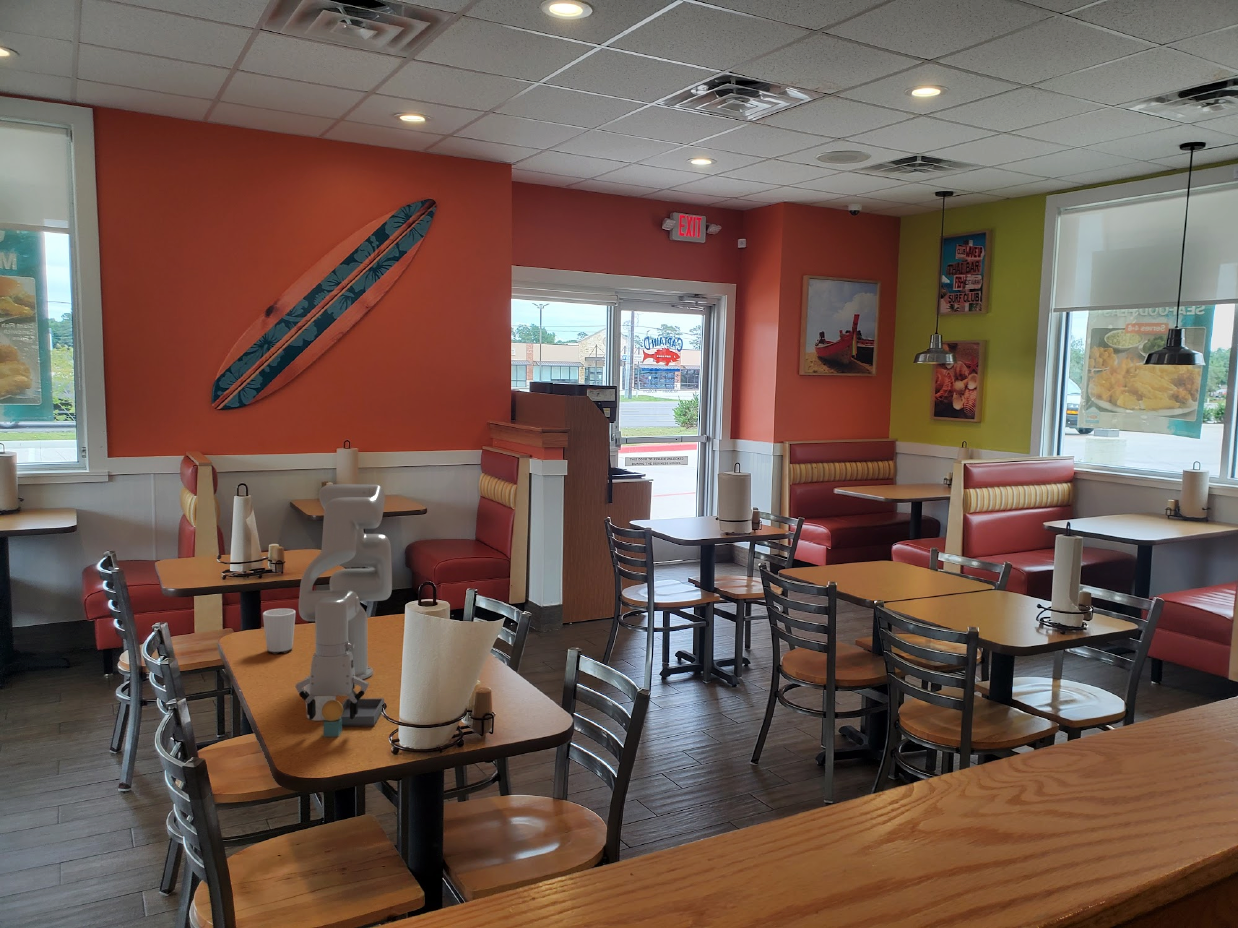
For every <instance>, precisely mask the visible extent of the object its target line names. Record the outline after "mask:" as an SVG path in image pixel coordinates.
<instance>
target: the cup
mask: <svg viewBox="0 0 1238 928" xmlns="http://www.w3.org/2000/svg"><path fill="white" fill-rule="evenodd" d="M262 618H263V619H262V620H263V626H264V627H263V628H264V635H265V642H266V643H265V644H266V650H267V653H272V654H273V655H277V654H279V653H282V654H287V653H288V652H289V651H292V650H293V646H294V645H293V644H294V636H295V635H294V633H295V622H296V610H295V609H293V608H274V609H273V608H272V609H268V610H265V611H264V612H262Z"/></svg>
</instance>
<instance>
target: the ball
mask: <svg viewBox="0 0 1238 928" xmlns="http://www.w3.org/2000/svg"><path fill="white" fill-rule="evenodd" d="M342 714H343V706H342V703H341V702H340V701H339V700H330V701H328V702H326V703H325V704H324V706H323V708H322V715H323V717H324V718H325V719H326V720H328V721H336V720H338V719H339V718H340V717H341V716H342Z"/></svg>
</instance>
